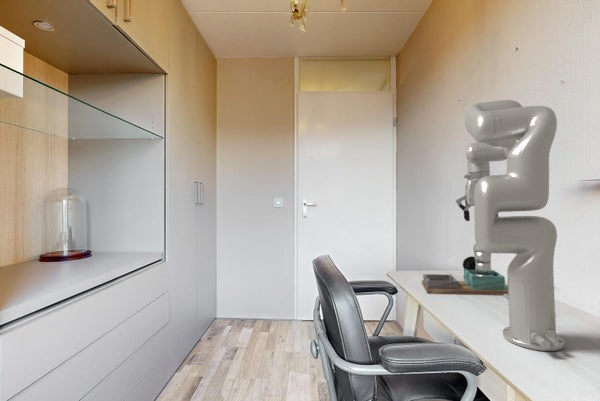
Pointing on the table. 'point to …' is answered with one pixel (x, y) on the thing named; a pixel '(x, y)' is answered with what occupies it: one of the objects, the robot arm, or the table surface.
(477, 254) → the metal bottle
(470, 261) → the webcam
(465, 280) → the sorting tray
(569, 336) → the table surface
